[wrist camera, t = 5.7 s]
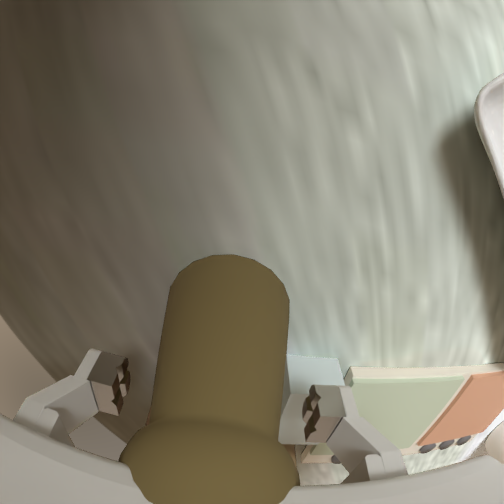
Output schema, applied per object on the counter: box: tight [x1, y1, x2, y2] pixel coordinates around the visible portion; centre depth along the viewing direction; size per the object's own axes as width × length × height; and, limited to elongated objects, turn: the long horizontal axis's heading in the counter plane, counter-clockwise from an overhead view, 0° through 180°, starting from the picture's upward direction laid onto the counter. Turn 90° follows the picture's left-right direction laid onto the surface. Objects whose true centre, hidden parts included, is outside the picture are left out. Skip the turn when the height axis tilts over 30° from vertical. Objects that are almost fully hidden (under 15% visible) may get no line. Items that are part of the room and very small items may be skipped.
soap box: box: [278, 354, 345, 445], centre depth 16 cm, size 5×3×3 cm, turn 171°
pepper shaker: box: [118, 255, 300, 504], centre depth 10 cm, size 6×6×11 cm
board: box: [301, 363, 504, 464], centre depth 19 cm, size 11×19×1 cm, turn 81°
